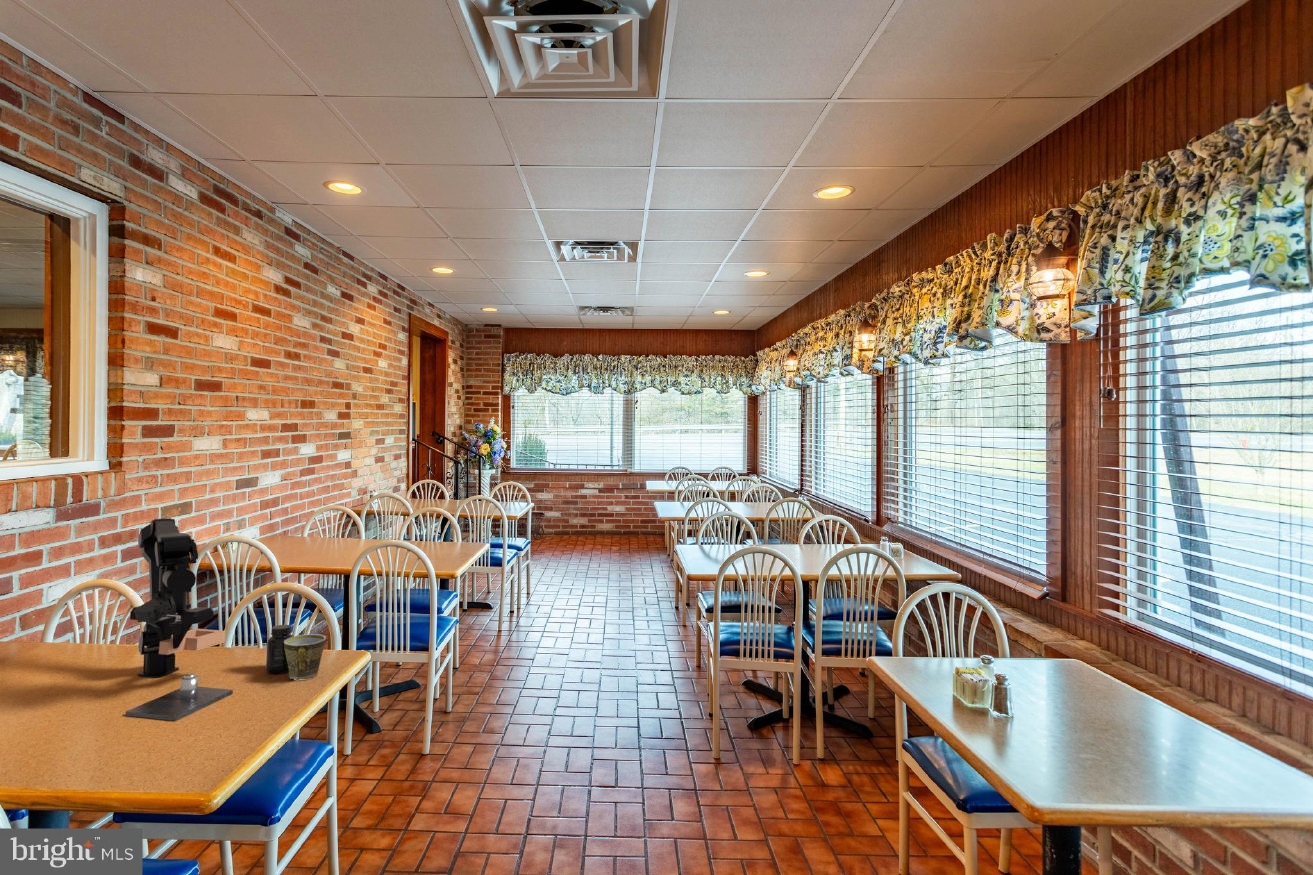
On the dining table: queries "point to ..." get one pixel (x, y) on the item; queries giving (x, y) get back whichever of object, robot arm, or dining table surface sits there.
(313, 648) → the ceramic cup
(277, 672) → the supplement bottle
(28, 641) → the dining table surface
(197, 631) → the square ring with tab
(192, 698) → the base with metal peg
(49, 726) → the dining table surface
